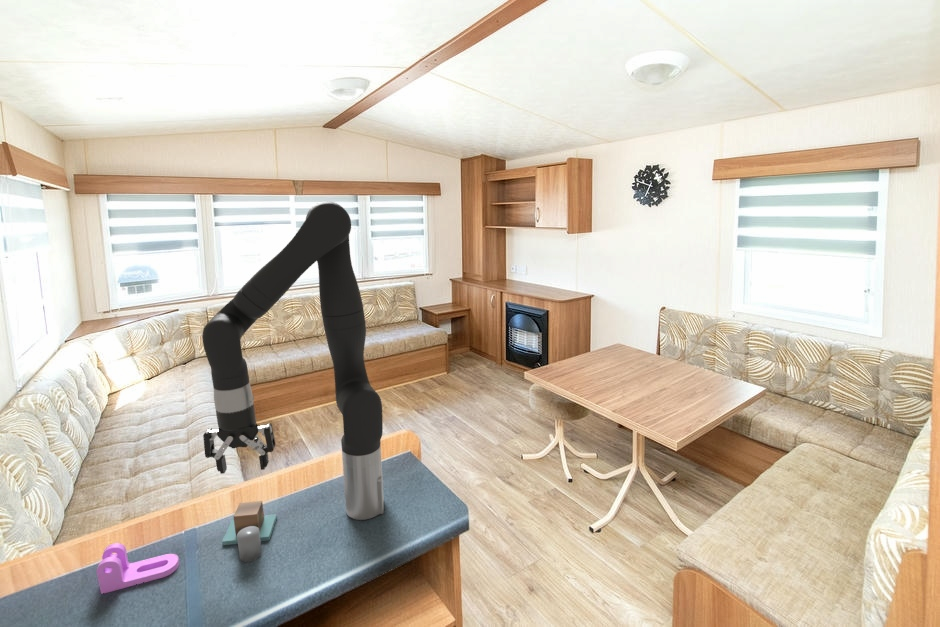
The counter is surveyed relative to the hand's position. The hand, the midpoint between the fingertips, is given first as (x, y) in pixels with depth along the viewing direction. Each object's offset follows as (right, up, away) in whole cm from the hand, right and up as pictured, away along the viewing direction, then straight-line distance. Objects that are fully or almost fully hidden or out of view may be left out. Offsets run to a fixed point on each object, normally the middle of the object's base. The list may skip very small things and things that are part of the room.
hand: (244, 469), depth 109 cm
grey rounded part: (+3, -17, -4) cm, 18 cm away
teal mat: (0, -16, +4) cm, 16 cm away
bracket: (-17, -19, -9) cm, 27 cm away
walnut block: (0, -15, +3) cm, 15 cm away
